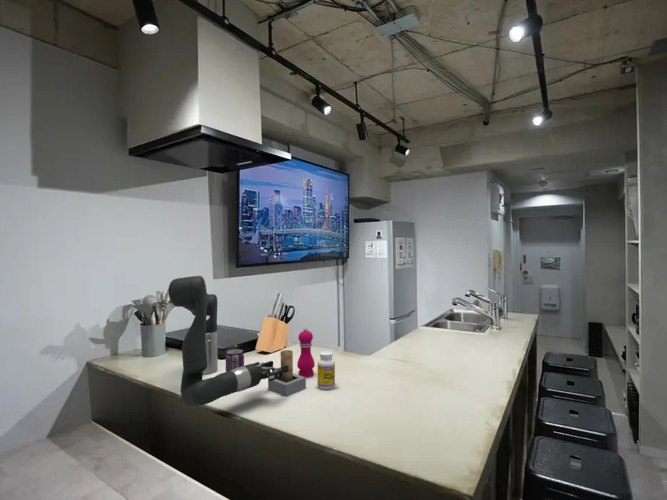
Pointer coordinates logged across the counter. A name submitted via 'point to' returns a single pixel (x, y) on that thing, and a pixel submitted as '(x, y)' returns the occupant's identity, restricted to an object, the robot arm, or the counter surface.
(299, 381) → the socket
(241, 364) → the beverage can
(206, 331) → the robot arm
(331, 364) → the supplement bottle
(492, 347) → the counter surface
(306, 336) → the pepper mill
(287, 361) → the peg
